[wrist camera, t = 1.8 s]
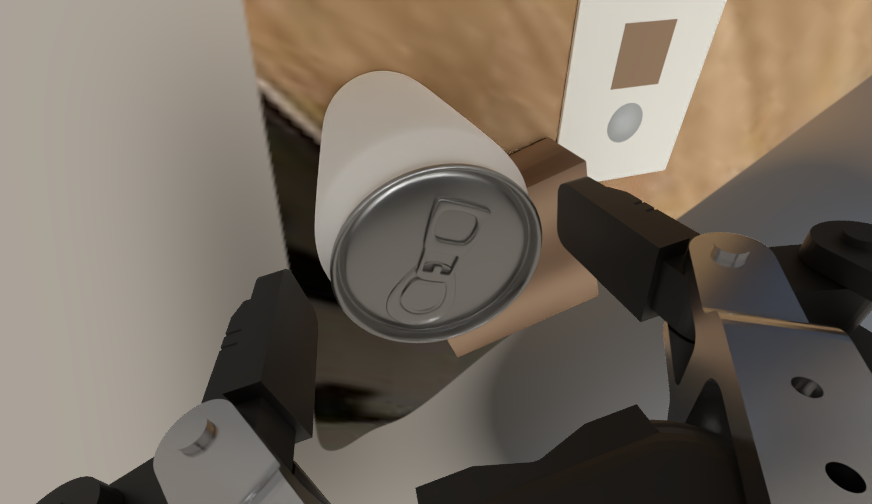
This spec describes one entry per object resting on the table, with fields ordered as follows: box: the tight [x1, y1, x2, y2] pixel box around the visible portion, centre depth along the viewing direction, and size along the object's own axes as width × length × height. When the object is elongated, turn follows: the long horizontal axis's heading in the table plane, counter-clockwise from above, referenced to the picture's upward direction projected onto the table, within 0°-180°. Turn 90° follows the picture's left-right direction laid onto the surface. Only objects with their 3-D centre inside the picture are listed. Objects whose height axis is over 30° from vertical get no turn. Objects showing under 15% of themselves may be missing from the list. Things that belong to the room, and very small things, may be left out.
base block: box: [447, 138, 598, 357], centre depth 22 cm, size 11×11×4 cm
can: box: [315, 71, 542, 343], centre depth 13 cm, size 6×6×12 cm
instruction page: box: [556, 0, 726, 182], centre depth 20 cm, size 12×9×1 cm
